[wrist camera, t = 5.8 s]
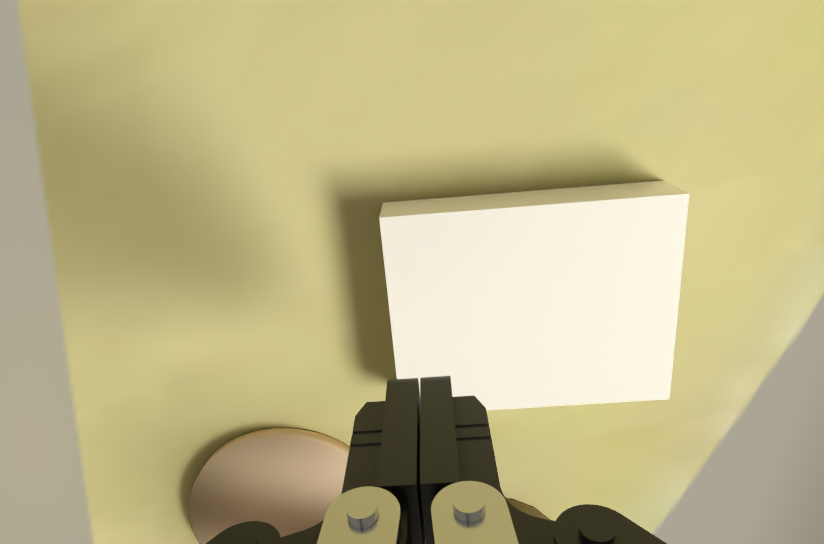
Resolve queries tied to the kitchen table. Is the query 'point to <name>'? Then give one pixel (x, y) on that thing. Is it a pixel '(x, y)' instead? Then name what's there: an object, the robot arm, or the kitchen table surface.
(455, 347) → the tile
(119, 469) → the kitchen table surface
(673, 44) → the kitchen table surface
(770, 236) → the kitchen table surface
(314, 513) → the disc
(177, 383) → the kitchen table surface
